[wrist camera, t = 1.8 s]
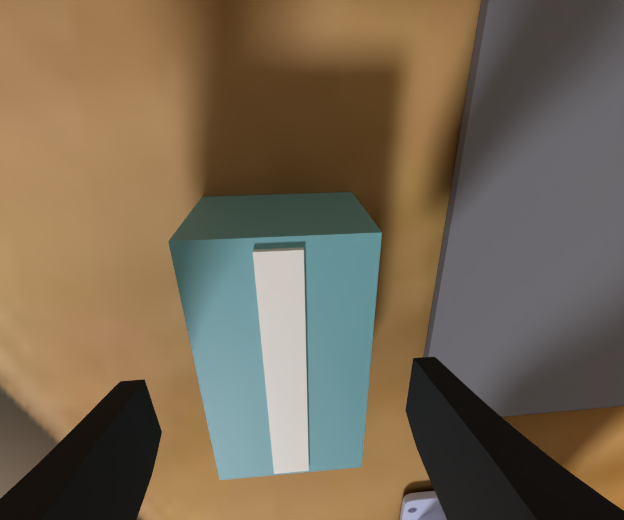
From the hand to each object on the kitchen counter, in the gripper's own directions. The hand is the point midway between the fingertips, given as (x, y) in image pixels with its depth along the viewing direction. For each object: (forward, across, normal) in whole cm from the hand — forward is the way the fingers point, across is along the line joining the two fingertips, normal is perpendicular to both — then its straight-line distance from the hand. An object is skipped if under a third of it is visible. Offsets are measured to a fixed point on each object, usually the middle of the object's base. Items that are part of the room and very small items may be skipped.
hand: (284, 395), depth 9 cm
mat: (+4, -12, -2) cm, 13 cm away
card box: (+5, 0, 0) cm, 5 cm away
